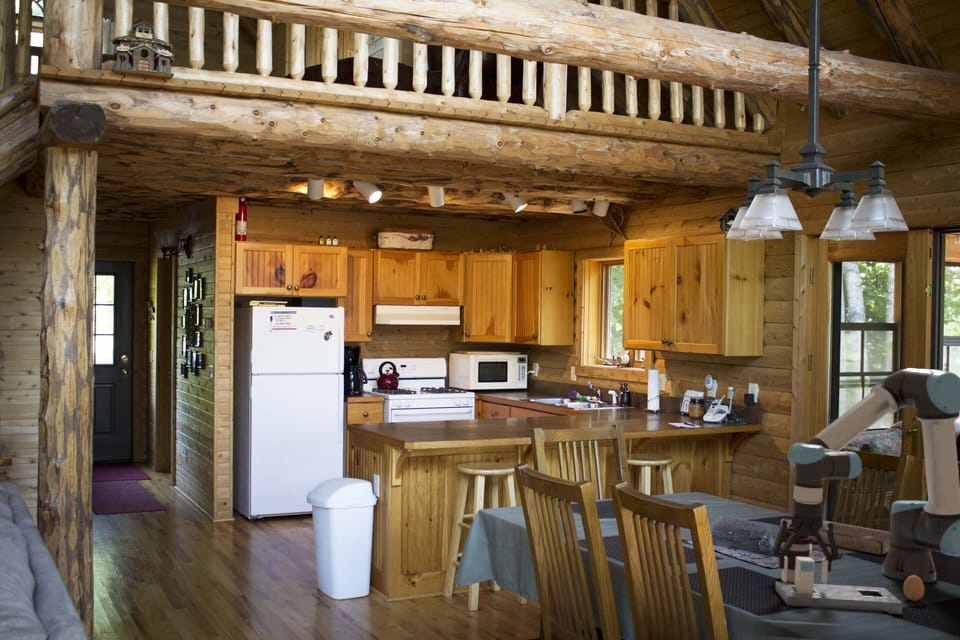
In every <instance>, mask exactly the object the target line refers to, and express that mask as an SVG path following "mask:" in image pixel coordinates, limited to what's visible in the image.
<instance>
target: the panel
mask: <svg viewBox="0 0 960 640" xmlns="http://www.w3.org/2000/svg"><path fill="white" fill-rule="evenodd" d="M794 588H795V582H789V581H787V582H784V581H775V589H774V590H775V591H776V593H777V594H778V595H779V597H780V598H781V599H782V600H783V602H784V603H785V604H786V606H793V607H794V606H795V607H810V608H828V609H841V610H842V609H844V610H845V609H846V610H861V611H878V612H886V613H888V614H890V615H891V614H892V615H893V614H895V615H902V614H903V602H902V601H901V600H900V599H898V598H897V597H896V596H895V595H894V594H893V593H891V592H890V591H889V590H887V588H885V587H878V586H877V587H876V586H875V587H874V586H859V585H845V584H844V585H843V584H840V585H839V584H828V583H827V584H823V583H814V584H813V593H805V592H795V591H794Z"/></svg>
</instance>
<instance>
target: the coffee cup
mask: <svg viewBox="0 0 960 640" xmlns="http://www.w3.org/2000/svg"><path fill="white" fill-rule="evenodd" d="M793 529H794V527H788V528H787V531H786V534H785V537H784V540H783V543H782V545H781V548H780V550H781V549H782V547H783V546H784V544H785V543H786V541H787V540H788V538H789V537H790V535H791V533H792V531H793ZM777 535H778V533H777V534H776V536H777ZM812 543H813V541H812V537H811V536H809V535H805V536H802V535H800V536H799V537H798V538H797V539H796V541H795V542H794V544H793V545H792V547H791V548H790V550H789V551H788V553H787V554H786V557H787V558H788V566H787V582H794V583H795V566H796V557H810V553H811V549H810V548H811V547H810V545H812ZM779 579H781V580H782V569H780V568H779Z"/></svg>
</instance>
